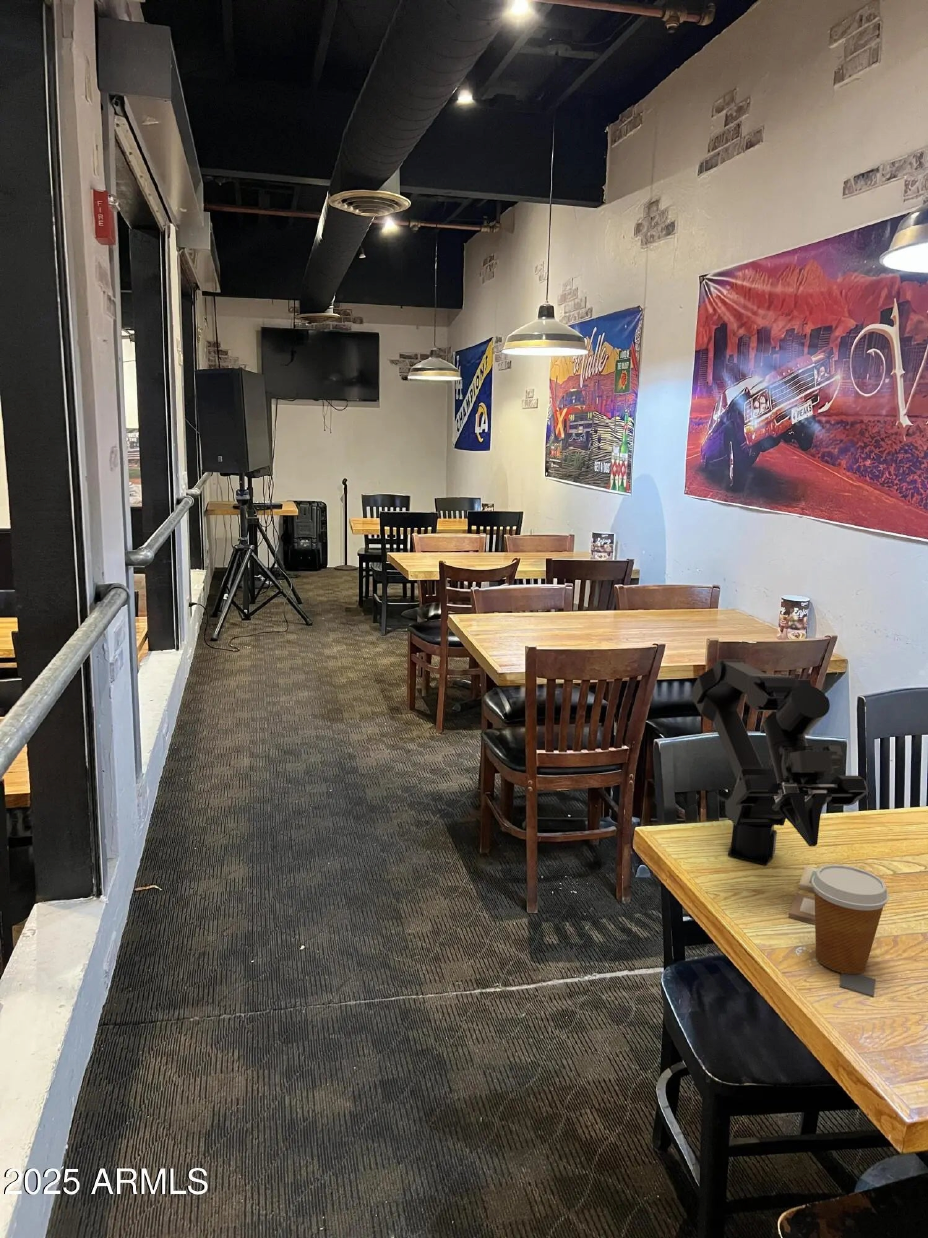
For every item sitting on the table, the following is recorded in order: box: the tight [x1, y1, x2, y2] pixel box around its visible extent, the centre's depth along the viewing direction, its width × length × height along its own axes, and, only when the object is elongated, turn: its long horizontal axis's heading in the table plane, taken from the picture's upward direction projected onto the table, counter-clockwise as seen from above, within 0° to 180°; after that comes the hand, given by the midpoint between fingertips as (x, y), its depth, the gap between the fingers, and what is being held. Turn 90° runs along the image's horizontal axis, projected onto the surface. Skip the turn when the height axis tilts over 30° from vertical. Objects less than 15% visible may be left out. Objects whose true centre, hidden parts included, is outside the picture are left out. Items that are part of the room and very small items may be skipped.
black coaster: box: [839, 973, 877, 998], centre depth 110 cm, size 4×4×1 cm
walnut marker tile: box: [787, 891, 815, 926], centre depth 127 cm, size 7×7×1 cm
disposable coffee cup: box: [812, 864, 890, 974], centre depth 114 cm, size 10×10×12 cm
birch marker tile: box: [798, 865, 818, 893], centre depth 135 cm, size 7×7×1 cm
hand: (813, 845), depth 123 cm, fingers closed
